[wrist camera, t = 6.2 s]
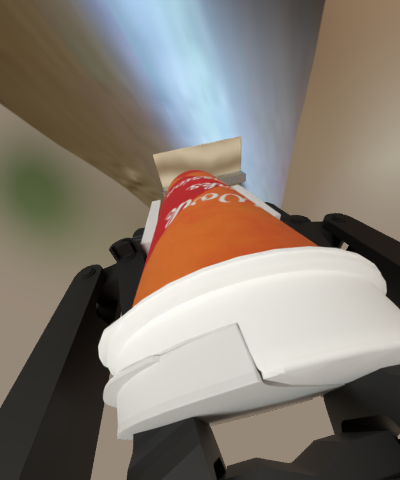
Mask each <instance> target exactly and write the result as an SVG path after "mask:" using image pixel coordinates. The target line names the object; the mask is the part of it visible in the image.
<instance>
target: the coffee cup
mask: <svg viewBox="0 0 400 480" xmlns="http://www.w3.org/2000/svg"><path fill="white" fill-rule="evenodd" d="M386 293H387V288H386V281H385V280H384V278H383V277H382V276H381V273H380V271H379V270H378V268H377V267H376V266H375V264H374V263H372V262H371V261H369V260H367V259H366V258H364V257H362V256H361V255H359V254H357V253H354V252H350V251H346V250H342V249H338V248H328V247H319V246H318V245H316V244H315V243H313V242H312V241H310V240H309V239H307V238H306V237H304V236H303V235H301V234H300V233H298V232H297V231H295V230H294V229H292V228H291V227H289V226H288V225H286V224H285V223H283V222H282V221H280V220H279V219H277V218H276V217H275V216H273V215H272V214H270V213H269V212H267V211H266V210H264V209H263V208H261V207H260V206H258V205H257V204H255V203H254V202H252V201H251V200H249V199H248V198H246V197H245V196H243V195H242V194H240V193H239V192H237V191H236V190H234V189H233V188H231V187H230V186H228V185H227V184H225V183H224V182H222V181H221V180H219V179H218V178H216V177H215V176H213V175H211V174H209V173H207V172H205V171H201V170H189V171H186V172H183V173H181V174H180V175H178V176H177V177H176V178H175V179H174V180H173V181H172V182H171V184H170V186H169V188H168V190H167V193H166V196H165V199H164V202H163V205H162V208H161V212H160V215H159V218H158V222H157V225H156V228H155V232H154V235H153V239H152V242H151V245H150V249H149V252H148V256H147V259H146V262H145V266H144V269H143V272H142V276H141V279H140V283H139V286H138V289H137V293H136V296H135V299H134V303H133V306H132V309H130V310H129V311H128V312H127V313H126V314H125V315H123V316H122V317H121V318H119V319H118V320H117V321H115V322H114V323H113V324H111V325H110V326H109V327H107V328H106V329H104V331H103V334H102V337H101V340H100V343H99V345H98V351H99V358H100V360H101V362H102V364H103V366H105V367H107V368H109V370H110V372H111V374H112V375H113V376H114V377H113V378H112V379H110V380H109V381H108V383H107V384H106V386H105V389H104V393H103V400H104V402H105V403H106V404H108V405H110V406H112V407H116V408H117V413H118V433H117V438H118V439H120V440H132V439H133V434H135V433H139V432H143V431H147V430H150V429H154V428H158V427H161V426H165V425H168V424H171V423H174V422H177V421H180V420H184V419H187V418H190V417H195V418H197V419H199V420H202V421H204V422H206V423H209V425H210V426H213V425H217V424H221V423H226V422H230V421H234V420H238V419H242V418H246V417H250V416H254V415H258V414H261V413H265V412H269V411H273V410H277V409H280V408H284V407H287V406H291V405H295V404H298V403H302V402H304V401H308V400H312V399H313V398H315V397H318V396H321V397H323V394H325V393H328V392H330V391H332V390H334V389H337V388H339V387H341V386H343V385H345V383H349V382H351V381H354V380H356V379H358V378H360V377H362V376H365V375H367V374H369V373H371V372H374V371H376V370H378V369H380V368H384V367H388V366H394V365H400V309H399V308H398V307H397V306H396V305H395V304H394V303H393V302H392V301H391V300H390V299H389V298H387V297H386Z"/></svg>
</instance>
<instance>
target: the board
mask: <svg viewBox="0 0 400 480" xmlns="http://www.w3.org/2000/svg"><path fill="white" fill-rule="evenodd" d="M153 157H154V160H155V164H156V167H157V170H158V173H159V176H160V179H161V183H162V186H163V187H166V186H170V184H171V182H172V181H173V180H174V179H175V178H176V177H177V176H178V175H180V174H181V173H183V172H186V171H189V170H201V171H205V172H207V173H209V174H211V175H213V176H218V175H222V174H227V173H232V172H236V171H240V166H241V137H235V138H230V139H225V140H221V141H216V142H211V143H206V144H201V145H197V146H192V147H187V148H182V149H177V150H173V151H168V152H163V153H158V154H153ZM235 185H240V183H236V184H231V185H228V186H230V187H231V186H235Z"/></svg>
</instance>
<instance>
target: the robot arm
mask: <svg viewBox="0 0 400 480" xmlns="http://www.w3.org/2000/svg"><path fill="white" fill-rule="evenodd" d="M231 188H233V189H234V190H236V191H237V192H239V193H240V194H242V195H243V196H245V197H246V198H248V199H249V200H251V201H252V202H254V203H255V204H257V205H258V206H260V207H261V208H263V209H264V210H266V211H267V212H269V213H270V214H272V215H273V216H275V217H276V218H277V219H279V220H280V221H282V222H283V223H285V224H286V225H288V226H289V227H291V228H292V229H294V230H295V231H297V232H298V233H300V234H301V235H303V236H304V237H306V238H307V239H309V240H310V241H312V242H313V243H315V244H316V245H318V246H319V247H328V248H338V249H340V248H341V246H342V245H343V243H344V242H345V243H347V244H348V245H349V246H348V248H347V249H346V251H350V252H354V253H357V254H359V255H361V256H362V257H364V258H366V259H367V260H369V261H371V262H372V263H374V264H375V266H376V267H377V268H378V270H379V271H380V273H381V276H382V277H383V278H384V280H385V281H386V288H387V293H386V297H387V298H389V299H390V300H391V301H392V302H393V303H394V304H395V305H396V306H397V307H398V308H399V309H400V242H399V241H397V240H395V239H393V238H391V237H389V236H387V235H385V234H383V233H381V232H379V231H377V230H375V229H373V228H371V227H369V226H367V225H366V224H364V223H362V222H360V221H358V220H356V219H354V218H352V217H350V216H347V215H343V214H340V213H339V214H338V213H334V214H327V215H326V216H325V217H324V219H323V222H311V221H310V220H309V219H308V218H307V217H304V216H300V215H291V216H290V215H289V214H287V213H285V212H284V211H282V210H280V209H279V208H278V207H276V206H275V205H273V204H271V203H268V202H265V203H264V202H262V201H261V200H260V199H258V198H257V197H255V196H254V195H252V194H251V193H250V192H248V191H247V190H245V189H244V188H243V187H241V186H240V185H235V186H231ZM161 208H162V203H161V200H158V201H153V202H152V205H151V209H150V212H149V216H148V220H147V223H146V227H145V228H140V229H138V230H137V231H136V232H135V233H134V235H133V238H124V239H121V240H119V241H117V242H115V243H114V244H112V246H111V247H110V249H109V251H110V252H111V254H112V255H113V257H114V258H115V260H116V261H117V263H116V264H114V265H112V266H109V267H107V268H105V269H103V268H102V267H101V266H100V265H91V266H88V267H86V268H84V269H83V270H81V271H80V272H79V273H78V274H77V275H76V276H75V277H74V279H73V281H72V283H71V285H70V286H69V288H68V290H67V291H66V293H65V295H64V297H63V299H62V300H61V302H60V304H59V306H58V307H57V309H56V311H55V313H54V315H53V316H52V318H51V320H50V322H49V323H48V325H47V327H46V329H45V330H44V332H43V334H42V335H41V337H40V339H39V341H38V343H37V344H36V346H35V348H34V350H33V351H32V353H31V355H30V357H29V358H28V360H27V362H26V364H25V365H24V367H23V369H22V371H21V373H20V374H19V376H18V378H17V380H16V381H15V383H14V385H13V387H12V389H11V390H10V392H9V394H8V395H7V397H6V399H5V401H4V403H3V404H2V406H1V408H0V480H90V478H91V473H92V468H93V462H94V457H95V451H96V446H97V441H98V435H99V429H100V424H101V419H102V413H103V408H104V400H103V393H104V389H105V386H106V384H107V383H108V381H109V374H110V370H109V368H107V367H105V366H103V364H102V362H101V360H100V358H99V351H98V345H99V343H100V340H101V337H102V334H103V331H104V329H106V328H107V327H109V326H110V325H111V324H113V323H114V322H115V321H117V320H118V319H119V318H120V315H121V313H122V316H123V315H125V314H126V313H127V312H128V311H129V310H130V309H132V306H133V303H134V299H135V296H136V293H137V289H138V286H139V283H140V279H141V276H142V272H143V269H144V266H145V262H146V259H147V256H148V252H149V249H150V245H151V242H152V239H153V235H154V232H155V228H156V225H157V222H158V218H159V215H160V212H161ZM323 397H324V402H325V405H326V409H327V412H328V415H329V418H330V421H331V424H332V427H333V430H334V433H335V435H331V436H328V437H325V438H321V439H318V440H314V441H313V442H312V443H311V444H310V445H309V446H308V447H307V448H306V449H305V450H304V451H303V452H302V453H301V454H300V455H299V456H298V457H297V458H296V459H295V460H294V461H293V462H292V463H284V462H278V461H272V460H266V459H261V458H253V459H250V460H246V461H243V462H240V463H236V464H233V465H229V466H227V469H226V466H225V464H224V461H223V458H222V456H221V453H220V450H219V448H218V445H217V442H216V440H215V437H214V435H213V432H212V430H211V427H210V425H209V423H206V422H204V421H202V420H199V419H197V418H195V417H190V418H187V419H184V420H180V421H177V422H174V423H171V424H168V425H165V426H161V427H158V428H154V429H150V430H147V431H143V432H139V433H135V434H133V454H132V457H131V461H130V464H129V468H128V472H127V480H400V439H398V437H397V436H398V435H399V434H400V365H394V366H388V367H384V368H380V369H378V370H376V371H374V372H371V373H369V374H367V375H365V376H362V377H360V378H358V379H356V380H354V381H351V382H349V383H345V385H343V386H341V387H339V388H337V389H334V390H332V391H330V392H328V393H325V394H323Z"/></svg>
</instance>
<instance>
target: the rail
mask: <svg viewBox="0 0 400 480" xmlns="http://www.w3.org/2000/svg"><path fill="white" fill-rule="evenodd" d="M215 177H216V178H218V179H219V180H221V181H222V182H224V183H225V184H227V185H231V184H236V183H240V182H245V181H246V174H245V173H244V172H242V171H236V172H232V173H227V174H222V175H218V176H215ZM168 188H169V186H166V187H163V190H162V192H163V195H164V198H165V196H166V193H167V190H168Z"/></svg>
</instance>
